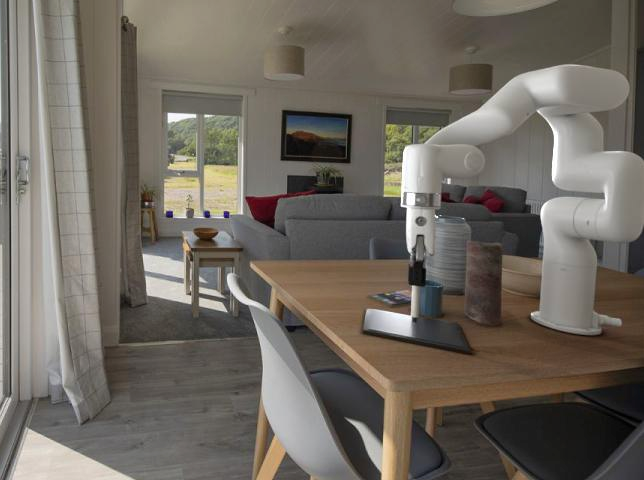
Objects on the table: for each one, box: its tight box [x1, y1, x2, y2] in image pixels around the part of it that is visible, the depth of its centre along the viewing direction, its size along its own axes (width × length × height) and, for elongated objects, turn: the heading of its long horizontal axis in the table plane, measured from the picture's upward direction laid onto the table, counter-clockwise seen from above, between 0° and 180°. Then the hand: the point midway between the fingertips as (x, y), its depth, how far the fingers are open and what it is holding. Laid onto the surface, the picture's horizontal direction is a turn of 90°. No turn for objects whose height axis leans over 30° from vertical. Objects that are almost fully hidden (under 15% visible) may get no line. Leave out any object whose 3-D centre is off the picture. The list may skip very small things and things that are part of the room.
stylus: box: [410, 285, 420, 323], centre depth 86 cm, size 2×2×14 cm
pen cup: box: [419, 280, 444, 317], centre depth 102 cm, size 7×7×8 cm
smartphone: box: [368, 289, 412, 306], centre depth 112 cm, size 8×15×1 cm, turn 111°
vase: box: [425, 215, 472, 296], centre depth 122 cm, size 12×12×23 cm
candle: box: [464, 240, 504, 326], centre depth 97 cm, size 8×7×20 cm
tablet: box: [362, 307, 472, 355], centre depth 91 cm, size 20×16×1 cm
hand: (416, 283), depth 86 cm, fingers closed on stylus, 1 cm apart
